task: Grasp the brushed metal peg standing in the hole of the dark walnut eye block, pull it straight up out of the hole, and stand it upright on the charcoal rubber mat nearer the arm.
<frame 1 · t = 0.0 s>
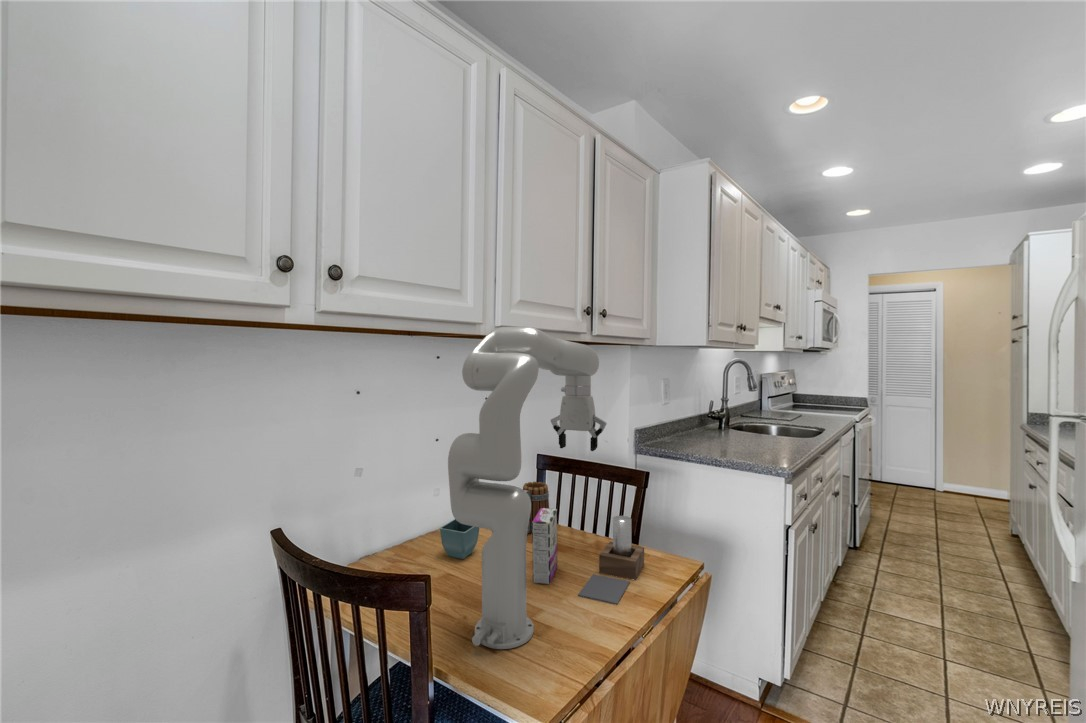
hand: (577, 448, 144), 31 cm above the table, tool pointing down, fingers open, 9 cm apart
candy bar box: (545, 575, 130), on the table
flower pot: (460, 555, 143), on the table
rubber mat: (604, 589, 122), on the table
metal peg: (622, 569, 134), resting in eye block
mug: (531, 531, 162), on the table
eye block: (622, 568, 134), on the table
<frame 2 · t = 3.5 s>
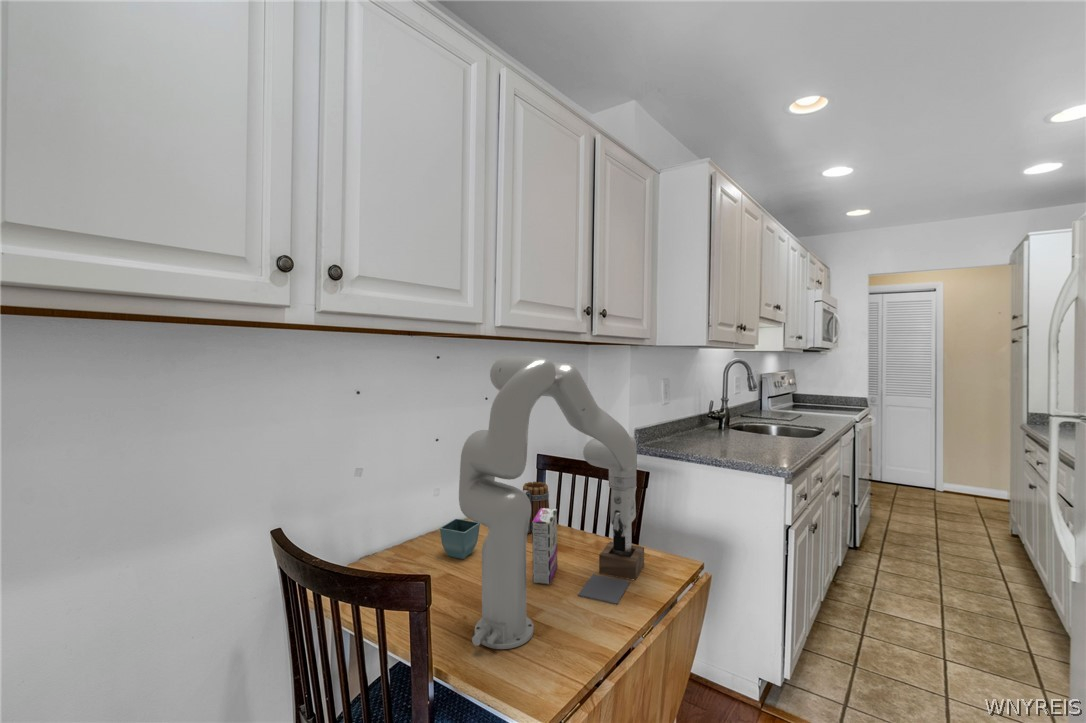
hand: (622, 545, 134), 6 cm above the table, tool pointing down, fingers closed on metal peg, 5 cm apart
metal peg: (622, 568, 134), resting in eye block, touching gripper
everything else where it was.
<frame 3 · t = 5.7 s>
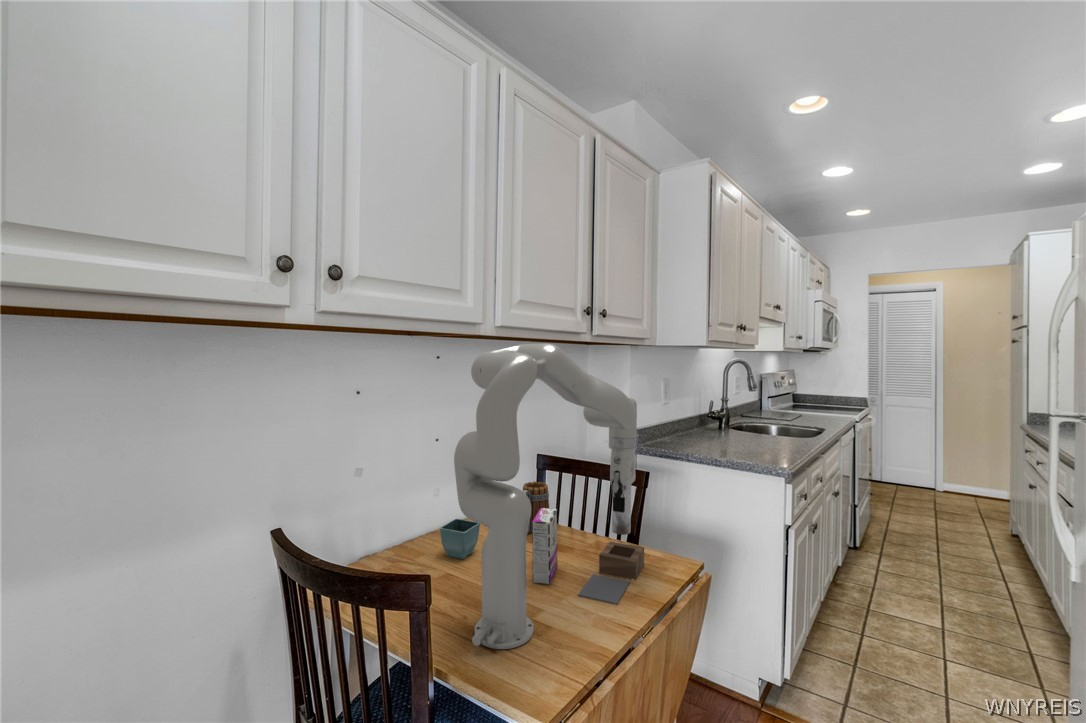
hand: (621, 507, 133), 17 cm above the table, tool pointing down, fingers closed on metal peg, 5 cm apart
metal peg: (621, 531, 133), point 11 cm above the table, touching gripper
everything else where it was.
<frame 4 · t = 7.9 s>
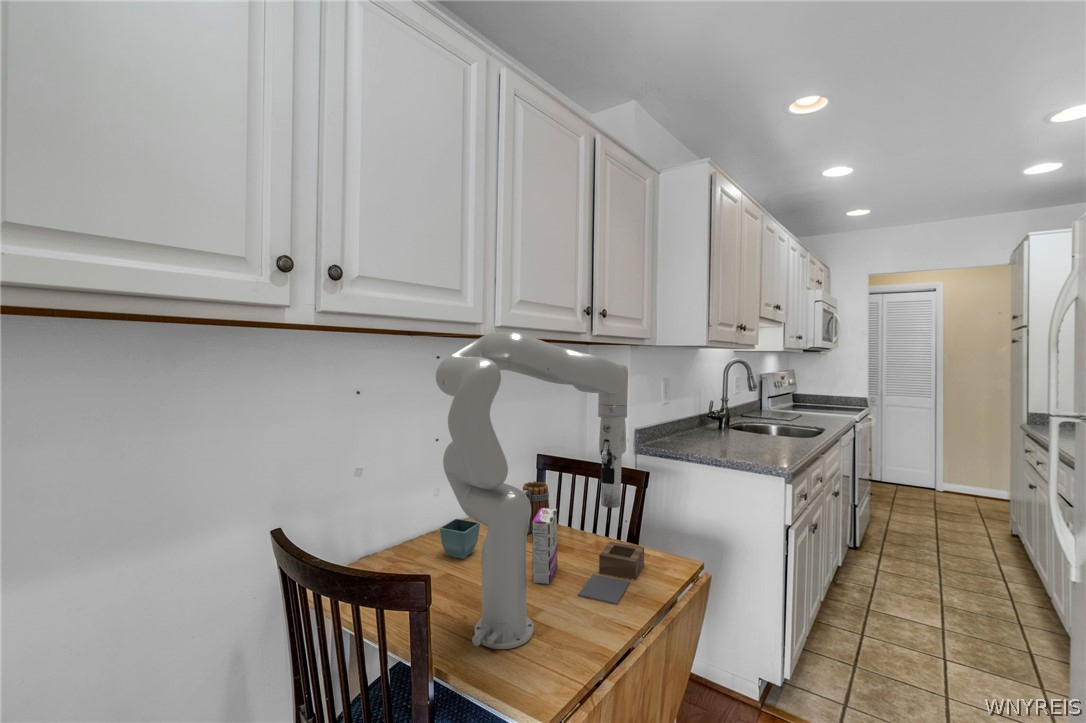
hand: (611, 480, 126), 27 cm above the table, tool pointing down, fingers closed on metal peg, 5 cm apart
metal peg: (610, 504, 126), point 20 cm above the table, touching gripper
everything else where it was.
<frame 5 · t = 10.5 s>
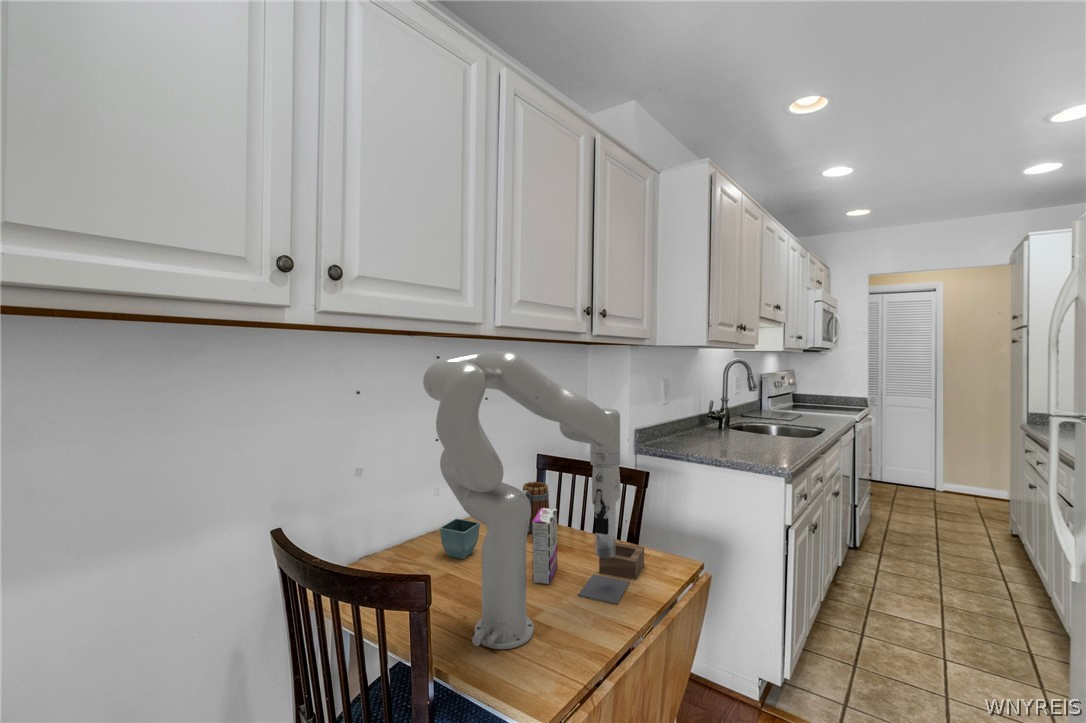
hand: (605, 528, 122), 15 cm above the table, tool pointing down, fingers closed on metal peg, 5 cm apart
metal peg: (605, 553, 122), point 9 cm above the table, touching gripper
everything else where it was.
when the fingers open (8 cm above the table, at t = 12.7 s): metal peg drops 1 cm, resting on rubber mat.
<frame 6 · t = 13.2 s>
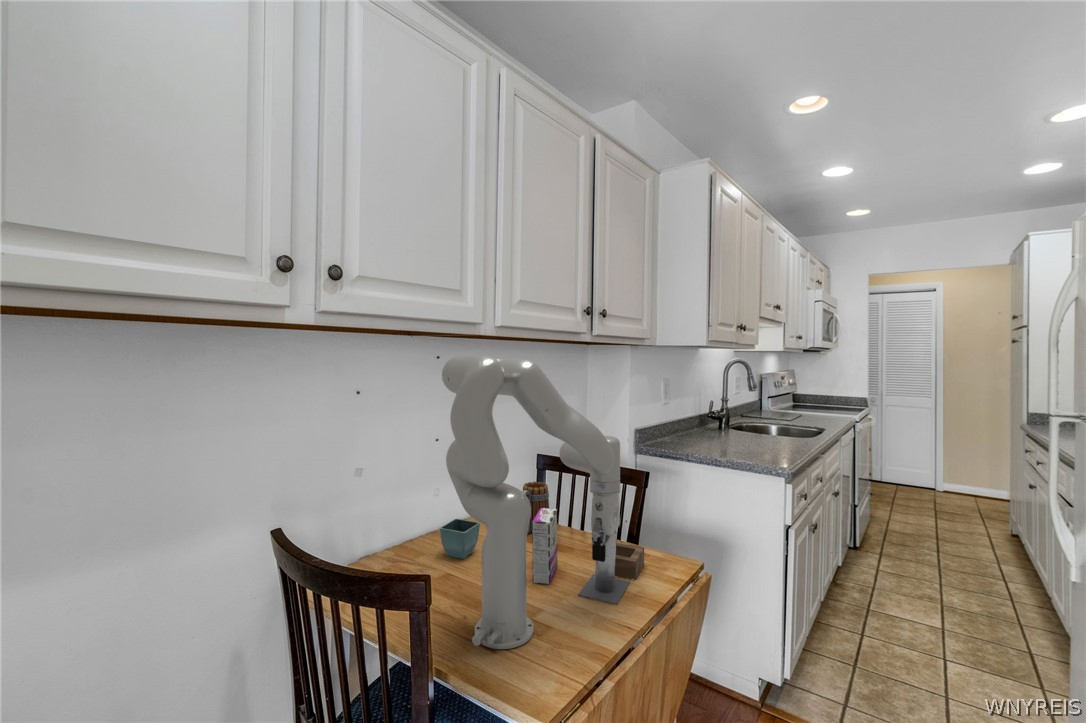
hand: (604, 552, 122), 9 cm above the table, tool pointing down, fingers open, 9 cm apart
metal peg: (604, 587, 122), resting on rubber mat
everything else where it was.
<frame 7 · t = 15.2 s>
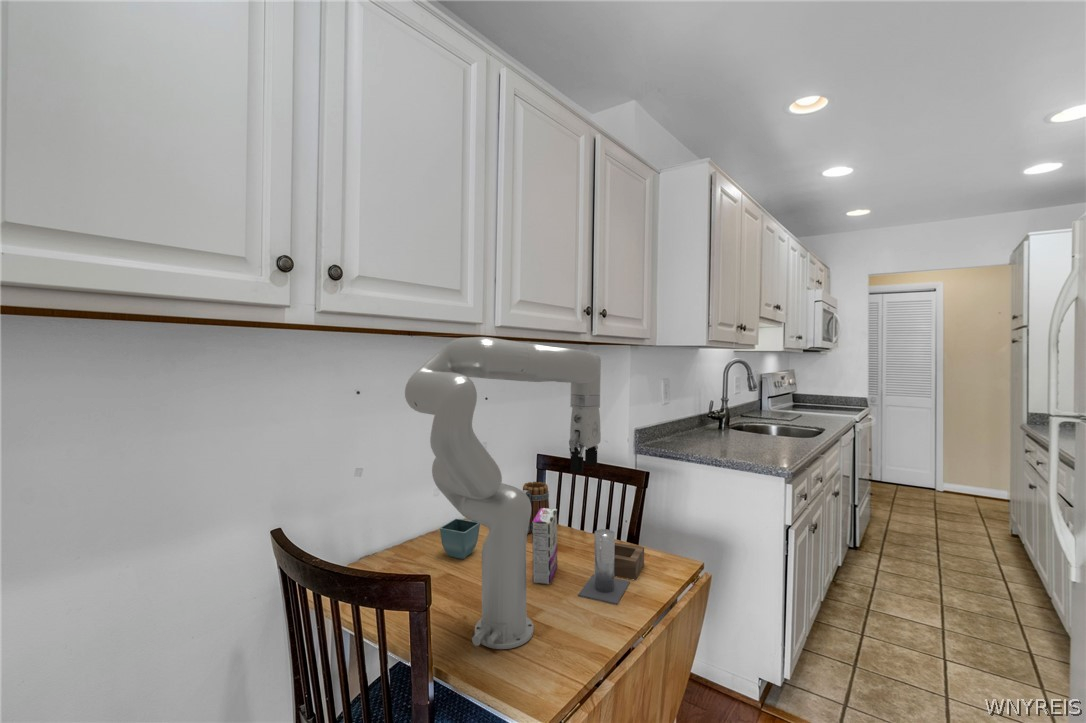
hand: (584, 468, 123), 30 cm above the table, tool pointing down, fingers open, 9 cm apart
nothing on the table moved.
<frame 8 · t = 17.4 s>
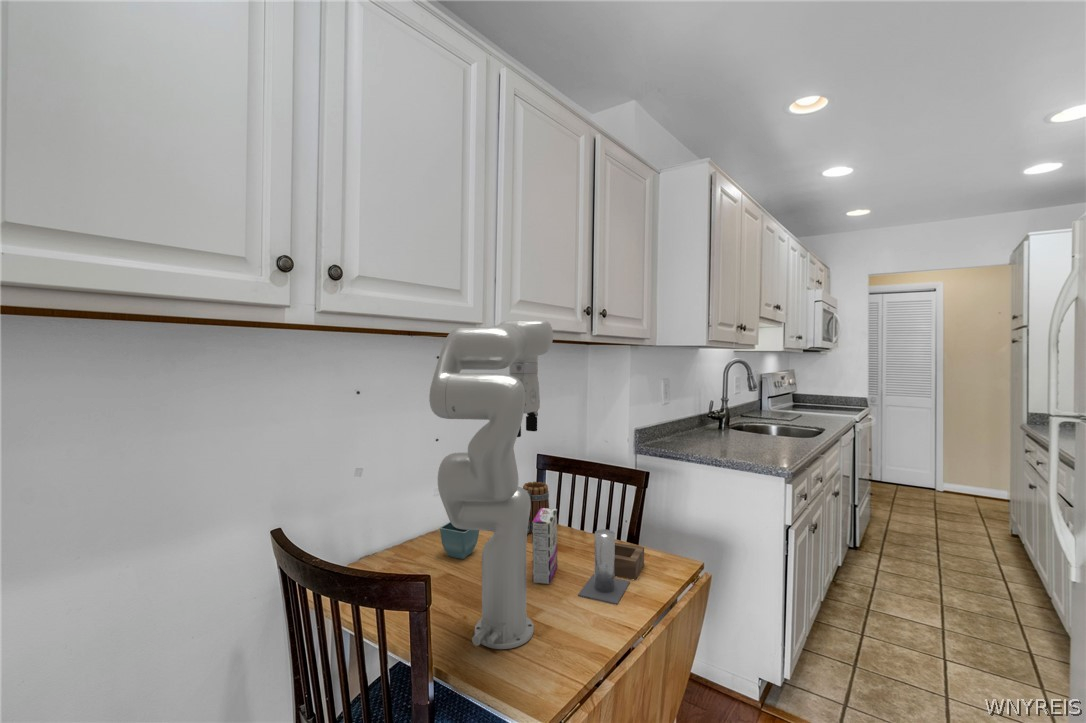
hand: (523, 433, 129), 38 cm above the table, tool pointing down, fingers open, 9 cm apart
nothing on the table moved.
at the end: metal peg inside the target area on the rubber mat (0.1 cm from its centre), point 0.5 cm above the rubber mat's base; metal peg tilted 1°; the gripper is holding nothing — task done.
